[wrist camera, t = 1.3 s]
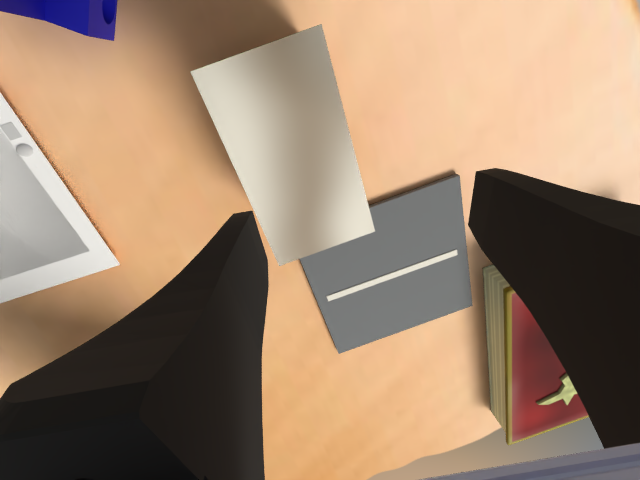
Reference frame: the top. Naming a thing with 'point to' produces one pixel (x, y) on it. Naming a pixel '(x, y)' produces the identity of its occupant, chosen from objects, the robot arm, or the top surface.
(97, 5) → the blue cradle bracket
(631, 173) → the top surface
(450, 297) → the mat
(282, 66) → the card box
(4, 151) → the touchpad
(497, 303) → the hardcover book
